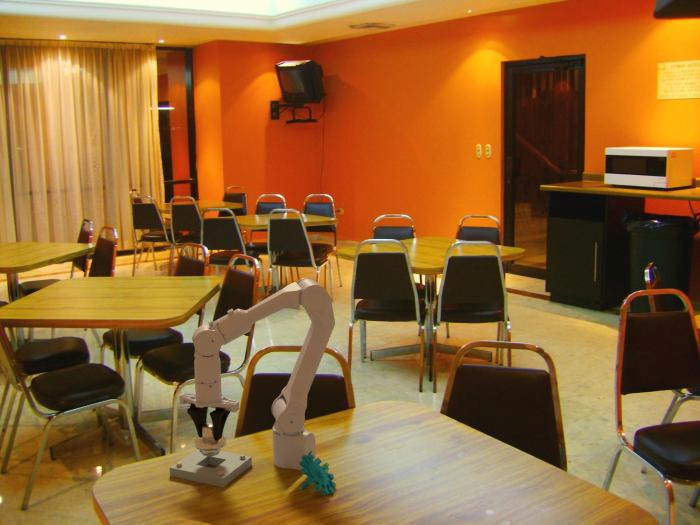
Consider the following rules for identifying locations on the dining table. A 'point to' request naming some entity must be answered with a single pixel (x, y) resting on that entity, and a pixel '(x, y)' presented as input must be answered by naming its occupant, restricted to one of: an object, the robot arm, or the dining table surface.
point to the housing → (219, 476)
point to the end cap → (209, 441)
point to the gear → (317, 474)
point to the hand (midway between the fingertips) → (210, 437)
